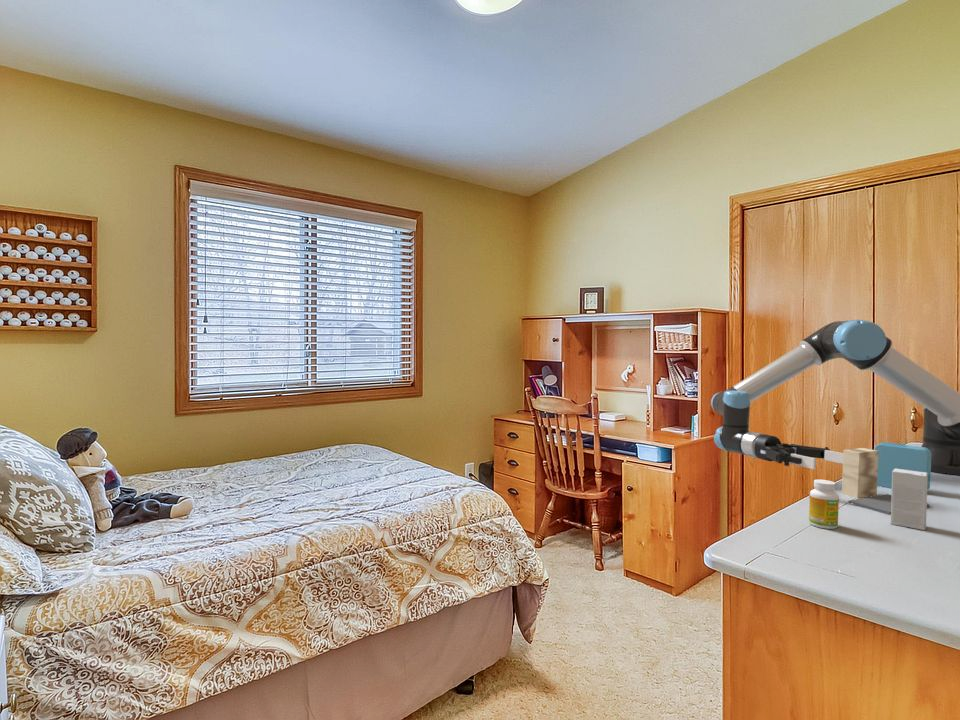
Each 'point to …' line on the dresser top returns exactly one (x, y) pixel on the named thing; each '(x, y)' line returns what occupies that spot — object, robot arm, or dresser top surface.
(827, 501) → the supplement bottle
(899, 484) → the skincare box
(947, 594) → the dresser top surface
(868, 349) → the robot arm
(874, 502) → the charcoal mat
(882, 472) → the data package
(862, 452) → the maple block
